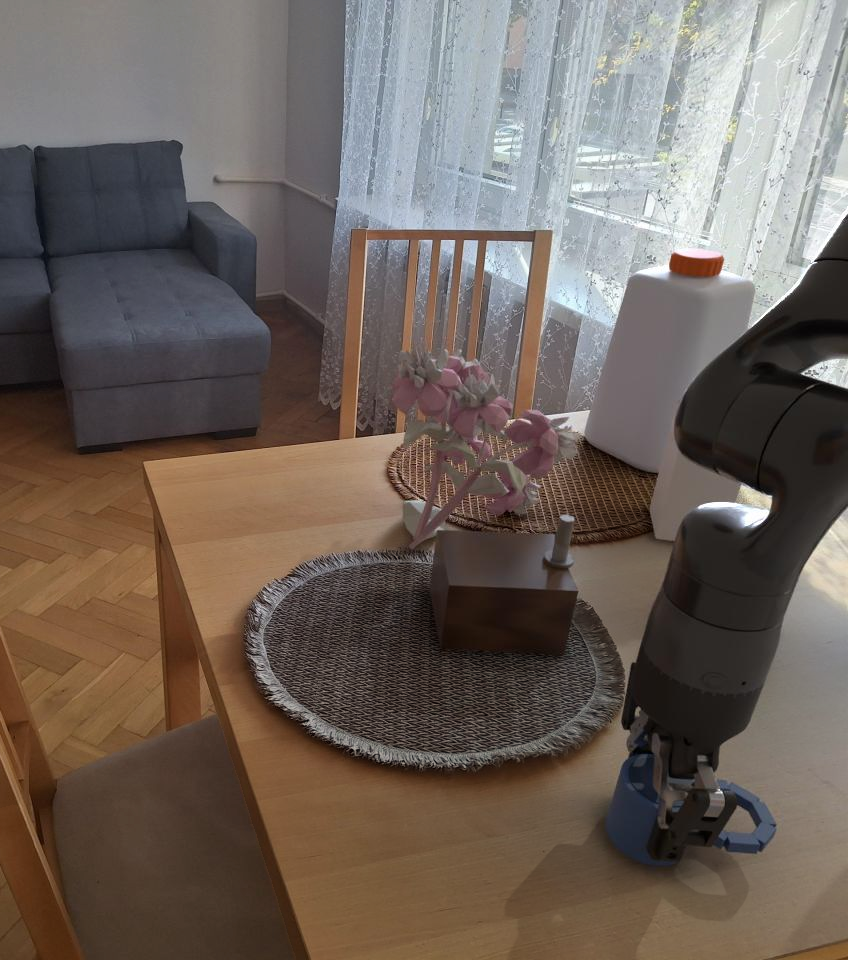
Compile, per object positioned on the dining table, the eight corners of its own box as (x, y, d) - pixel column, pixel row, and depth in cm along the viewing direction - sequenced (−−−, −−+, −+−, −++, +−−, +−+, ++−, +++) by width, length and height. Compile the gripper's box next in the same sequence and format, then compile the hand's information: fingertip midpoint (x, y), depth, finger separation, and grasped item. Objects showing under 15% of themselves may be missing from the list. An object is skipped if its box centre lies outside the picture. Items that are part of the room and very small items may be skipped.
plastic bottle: (655, 482, 115) (709, 275, 101) (569, 438, 127) (607, 247, 113) (733, 458, 120) (794, 258, 106) (644, 418, 132) (689, 234, 118)
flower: (561, 595, 91) (620, 363, 89) (352, 544, 96) (402, 324, 94) (538, 567, 111) (585, 376, 108) (365, 526, 116) (407, 343, 113)
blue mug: (740, 812, 68) (762, 757, 66) (775, 878, 63) (800, 823, 60) (595, 802, 70) (610, 748, 67) (618, 866, 64) (635, 811, 62)
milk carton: (721, 549, 101) (768, 400, 91) (654, 539, 103) (694, 393, 93) (711, 518, 106) (754, 376, 97) (648, 510, 109) (685, 370, 99)
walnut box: (548, 595, 94) (569, 492, 87) (571, 656, 85) (596, 547, 79) (429, 590, 95) (441, 488, 89) (440, 649, 86) (454, 541, 80)
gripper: (817, 734, 51) (739, 912, 59) (719, 590, 64) (666, 754, 72) (684, 726, 52) (626, 902, 60) (614, 586, 64) (573, 748, 73)
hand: (648, 821), depth 66 cm, fingers closed on blue mug, 5 cm apart
